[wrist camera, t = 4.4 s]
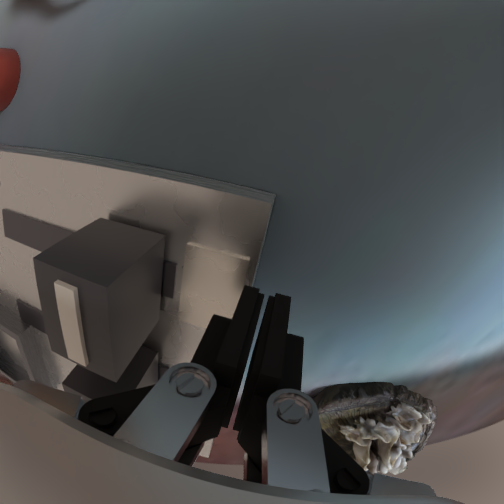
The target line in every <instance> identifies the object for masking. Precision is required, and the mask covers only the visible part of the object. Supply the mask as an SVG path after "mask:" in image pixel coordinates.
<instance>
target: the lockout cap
mask: <svg viewBox="0 0 504 504" xmlns="http://www.w3.org/2000/svg"><path fill="white" fill-rule="evenodd" d="M19 78H20V58H19V55H18V53H17V52H16V51H15V50H14V49H9V48H0V111H3V110H4V109H5V108H6V107H7V106H8V105H9V104H10V102H11V101H12V99H13V97H14V95H15V92H16V90H17V87H18V83H19Z"/></svg>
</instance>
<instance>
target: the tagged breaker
mask: <svg viewBox="0 0 504 504" xmlns="http://www.w3.org/2000/svg"><path fill="white" fill-rule="evenodd" d="M165 237H166V235H163V234H160V233H156V232H152V231H148V230H145V229H141V228H137V227H134V226H130V225H126V224H123V223H119V222H115V221H112V220H108V219H104V218H99V219H97V220H95V221H93V222H92V223H90V224H88V225H86V226H85V227H83V228H81V229H79V230H78V231H76V232H74V233H72V234H71V235H69V236H67V237H66V238H64V239H62V240H61V241H59V242H57V243H56V244H54V245H52V246H51V247H49V248H48V249H46V250H44V251H43V252H41V253H40V254H38V255H37V256H35V257H33V262H34V270H35V276H36V282H37V288H38V294H39V299H40V304H41V309H42V314H43V318H44V323H45V327H46V331H47V335H48V339H49V343H50V347H51V350H52V351H53V352H55V353H57V354H59V355H60V356H62V357H64V358H66V359H68V360H70V361H72V362H74V363H76V364H78V365H80V366H82V367H84V368H86V369H88V370H90V371H92V372H94V373H96V374H98V375H100V376H103V377H105V378H107V379H109V380H111V381H114V382H117V381H118V379H119V378H120V376H121V375H122V373H123V372H124V370H125V369H126V368H127V366H128V365H129V363H130V362H131V360H132V359H133V357H134V356H135V354H136V353H137V351H138V350H139V348H140V347H141V346H142V344H143V343H144V341H145V340H146V338H147V337H148V335H149V334H150V332H151V331H152V330H153V328H154V327H155V325H156V324H157V322H158V321H159V320H160V301H161V285H162V271H163V259H164V248H165Z"/></svg>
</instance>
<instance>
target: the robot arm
mask: <svg viewBox="0 0 504 504" xmlns="http://www.w3.org/2000/svg"><path fill="white" fill-rule="evenodd" d="M263 298H264V294H261V293H259V289H258V288H254V287H251V286H247V285H245V286H244V288H243V291H242V293H241V296H240V299H239V301H238V304H237V306H236V309H235V312H234V314H233V317H232V319H230V318H226V317H223V316H219V315H216V314H214V315H213V316H212V318H211V320H210V322H209V324H208V326H207V328H206V330H205V333H204V335H203V337H202V339H201V341H200V343H199V345H198V347H197V349H196V351H195V354H194V356H193V358H192V360H191V362H190V363H188V362H185V363H178V364H176V365H173V366H171V367H170V368H169V369H168V370H167V371H166V372H165V373H164V375H163V376H162V377H161V378H160V379H159V381H158V382H157V383H156V384H154V385H150V386H146V387H142V388H138V389H134V390H130V391H126V392H121V393H117V394H113V395H108V396H104V397H99V398H95V399H92V400H89V401H86V400H83V399H82V396H79V395H76V394H72V393H69V392H65V391H62V390H59V389H55V388H52V387H49V386H46V385H43V384H40V383H37V382H34V381H31V380H20V381H17V382H16V383H14V384H13V385H12V386H11V385H8V384H5V383H1V382H0V504H464V503H462V502H459V501H455V500H452V499H448V498H443V497H437V496H436V494H435V492H434V490H433V489H432V488H431V487H430V486H429V485H426V484H423V483H418V482H413V481H408V480H404V479H399V478H394V477H390V476H385V475H382V474H378V473H374V474H373V475H370V474H367V473H366V471H365V470H364V469H363V468H362V467H361V466H360V465H359V464H358V463H357V462H356V461H355V460H354V459H353V458H352V457H350V456H349V455H348V454H347V453H346V452H345V451H344V450H343V449H342V448H341V447H340V446H339V445H338V444H337V443H336V442H335V441H334V440H333V439H332V438H331V437H330V436H329V435H328V434H327V433H326V432H325V431H324V430H323V429H322V428H321V425H320V419H319V413H318V408H317V405H316V403H315V402H314V401H313V399H312V398H311V397H310V396H308V395H307V394H306V393H304V392H301V381H302V364H303V346H304V338H303V337H300V336H296V335H292V334H288V333H287V329H288V321H289V312H290V303H291V297H289V296H285V295H281V294H278V293H276V295H275V297H273V296H269V298H268V301H267V305H266V309H265V312H264V316H263V319H262V323H261V326H260V330H259V333H258V337H257V340H256V343H255V347H254V350H253V354H252V358H251V361H250V365H249V369H248V373H247V377H246V381H245V385H244V389H243V393H242V396H241V400H240V404H239V408H238V412H237V415H236V419H235V423H234V427H233V430H237V431H239V433H238V437H237V440H238V443H239V444H240V445H241V447H242V448H243V449H244V450H245V455H244V473H243V480H240V479H236V478H232V477H228V476H223V475H220V474H216V473H212V472H208V471H205V470H201V469H198V468H195V467H192V465H193V464H194V462H195V460H196V459H197V457H198V455H199V453H200V452H201V450H202V448H203V446H204V443H205V441H208V440H210V439H213V438H215V437H218V435H219V432H220V429H221V427H225V428H228V425H229V422H230V418H231V415H232V412H233V408H234V405H235V402H236V398H237V395H238V391H239V388H240V385H241V381H242V378H243V374H244V371H245V367H246V363H247V360H248V356H249V352H250V348H251V344H252V341H253V337H254V333H255V329H256V325H257V321H258V318H259V314H260V310H261V306H262V302H263Z"/></svg>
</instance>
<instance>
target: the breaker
mask: <svg viewBox="0 0 504 504" xmlns="http://www.w3.org/2000/svg"><path fill="white" fill-rule="evenodd" d="M157 382H158V351H156V350H153V349H150V348H147V347H145V346H141V347H140V348H139V350H138V351H137V353H136V354H135V356H134V357H133V359H132V360H131V362H130V363H129V365H128V366H127V368H126V369H125V370H124V372H123V373H122V375H121V376H120V378H119V379H118V381H117V382H114V381H111V380H109V379H107V378H105V377H103V376H100V375H98V374H96V373H94V372H92V371H90V370H88V369H86V368H84V367H82V366H80V365H78V364H77V365H76V366H75V367H74V369H73V370H72V371H71V372H70V373H69V375H68V376H67V377H66V378H65V380H64V381H63V382H62V386H63V389H64V391H65V392H69V393H72V394H76V395H79V396H82V399H83V400H86V401H89V400H92V399H95V398H99V397H104V396H108V395H113V394H117V393H121V392H126V391H130V390H134V389H138V388H142V387H146V386H150V385H154V384H156V383H157Z"/></svg>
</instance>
